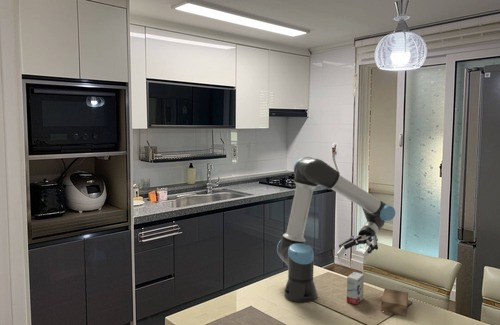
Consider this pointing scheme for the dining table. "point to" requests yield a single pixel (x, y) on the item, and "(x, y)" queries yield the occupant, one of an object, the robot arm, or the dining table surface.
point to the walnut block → (394, 302)
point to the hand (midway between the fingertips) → (350, 256)
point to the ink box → (355, 287)
